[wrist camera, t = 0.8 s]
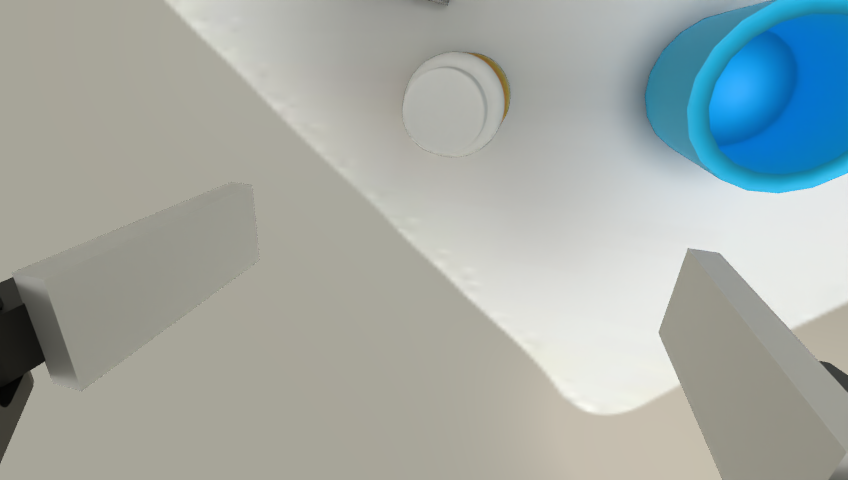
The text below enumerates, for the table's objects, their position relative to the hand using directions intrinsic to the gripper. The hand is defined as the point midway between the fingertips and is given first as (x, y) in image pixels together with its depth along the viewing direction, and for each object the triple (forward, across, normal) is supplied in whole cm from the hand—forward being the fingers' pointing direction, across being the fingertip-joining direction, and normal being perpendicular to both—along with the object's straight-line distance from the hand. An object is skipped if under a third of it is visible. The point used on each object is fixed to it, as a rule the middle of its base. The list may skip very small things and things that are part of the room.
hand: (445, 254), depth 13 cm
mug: (+19, +14, +5) cm, 24 cm away
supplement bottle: (+19, -2, +3) cm, 19 cm away
